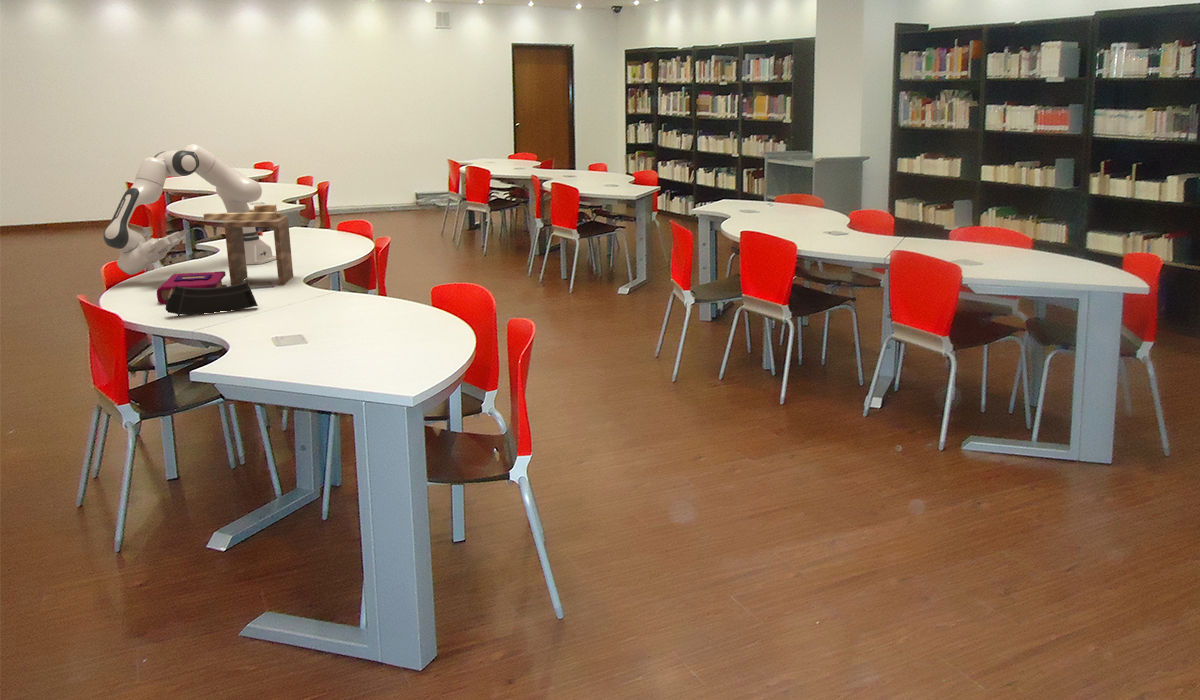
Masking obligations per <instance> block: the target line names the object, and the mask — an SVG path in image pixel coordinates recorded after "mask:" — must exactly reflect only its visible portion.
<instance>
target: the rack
mask: <svg viewBox="0 0 1200 700" xmlns="http://www.w3.org/2000/svg"><path fill="white" fill-rule="evenodd" d="M256 212H276V219H256V220H225V222H223V225H224V226H223V227H224V233H225V236H224V237H225V244H226V252H227V253H226V254H227V262H228V270H229V271H228V272H229V279H230V280H229V281H230V286H232V285H237V284H239V283H240V282H241V283H243V282H244V281H245V280H246V279H248V277H249V276H248V268H247V265H246V257H245V247H244V237H243V228H242V227H255V228H271V227H272V228H273V237H274V238H273V239H274V248H275V249H274V250H275V256H276V259H275V260H276V269H277V270H276V271H277V280H278V282H277V283H278V285H279V286H284V285H286V284H287V283H288V282H289V281H290V280H291V279H293V278H294V270H293V259H292V249H291V236H290V235H291V234H290V226H289V215H282V212H281V211H278V208H277V204H256V205H254V206H253V208H250V213H256ZM244 279H245V280H244ZM243 280H244V281H243Z"/></svg>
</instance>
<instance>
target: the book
mask: <svg viewBox="0 0 1200 700" xmlns="http://www.w3.org/2000/svg"><path fill="white" fill-rule="evenodd" d="M226 276H227V275H226V271H220V270H219V271H208V272H187V273H186V272H185V273H174V274H172V275H171V276H170V277H168V278H167V279H166V281H165V282H163V283H162V284H161V285H160V286H159V287H158V288H157V289H156V298H157V302H158V303H159V304H160V305H166V303H167V298H168V297H169V294H170V291H171V289H173V290H174V287H175V285H177V286H178V287H185V288H217V287H224V286H228V285H227V284H223V282H222V280H223V279H224V277H226Z"/></svg>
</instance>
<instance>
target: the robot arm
mask: <svg viewBox="0 0 1200 700" xmlns="http://www.w3.org/2000/svg"><path fill="white" fill-rule="evenodd" d="M194 173H195V174H196V175H198V176H199V177H201V179H203V180H205V181H206V182H207V183H209V184H210V185H211V186H214V187H215V190H216V191H215V192H216V194H217V195H218V196H219V197H220V199H221V200H222V202H223V204H224V208H225V209H226V213H250V210H251V208H250V207H249V203H253V202H257V201H258V200H259V199H260V198H261V197H262V194H263V190H262V188H263V187H262V186H261V184H260V183H259V182H258V181H256V180H254V179H252V178H250V177H248V176H246V175H245V174H243V173H242V172H240V171H238V170H236V169H235V168H233V167H232V166H231V167H230V166H229V165H227V163H225V162H224V161H222V160H221V159H220V158H219V157H218V156H216V155H214V154H213V153H212V152H211V151H209V150H207V149H206V148H204V147H202V146H200V145H198V144H195V143H190V144H188V145H187V146H185V147H184V148H183V149H181V150H178V149H177V150H176V149H175V150H173V149H172V150H167V151H161V152H159V153H157V154H155V155H154V156H149V157H145V159H143V160H142V162H141V164H140V166H139V168H138V170H137V173H136V176H135V179H134V181H133V184H132V185H131V187H130V188H128V189H127V190H126V191H125V192H124V193H123V195H122V197H121V198H120V199H121V200H119V203H118V206H117V207H116V210H115V212H114V214H113V216H112V218H111V220H110V222H109V223H108V225H107V226H106V227H105V228H104V231H103V235H102V236H103V240H104V243H105V244H106V245H107V246H108V247H109V248H113V249H116V250H118V251H119V256H118V257H119V258H118V260H117V262H116V266H117V267H118V268H119V270H121V271H122V272H123V273H124V274H126V275H129V276H132V275H136V274H139V273H140V272H142V271H144V270H146V269H147V268H148V267H150V266H151V265H152V264H155V263H157V262H158V261H159V262H160V261H161V260H162V259H164V258H165V257H167V255H168V254H167V253H169V252H170V251H171V249H172V248H174V247H175V246H176V245H178V244H179V243H180V242H181V241H183V240H184V236H186V235H187V234H188V233H189V230H188V229H187V228H185V229H183V230H181V231H176V232H173V233H171V234H169V235H167V236H164V237H161V238H160V237H159V238H153V237H152V238H150V239H148V240H146V237H145V236H144V235H143V234H141V233H140V232H137V231H136V230H133V229H131V228H130V227H129V223H130V220H131V218H132V216H133V214H134V212H135V210H136V208H137V207H139V206H141V205H150V204H154V203H156V202H157V201H159V199H160V197H162V193H163V189H164V186H165V182H166V180H167V179H168V177H170V178H171V177H172V178H179V177H187V176H189V175H192V174H194ZM242 228H243V237H244V247H245V257H246V266H247V265H262V264H267V263H268V262H272V261H274V260H276V255H273V251H272V248H271V246H270V245H269V244H267V243H266V242H264V241H263V240H262V239H260V237H262V236H263V235H264V232H263V231H257V230H256V228H257V227H242Z"/></svg>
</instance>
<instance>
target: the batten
mask: <svg viewBox="0 0 1200 700" xmlns="http://www.w3.org/2000/svg"><path fill="white" fill-rule="evenodd" d="M256 219H276V212H256V213H227V212H212V213H210V212H209V213H203V221H228V220H256Z"/></svg>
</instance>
